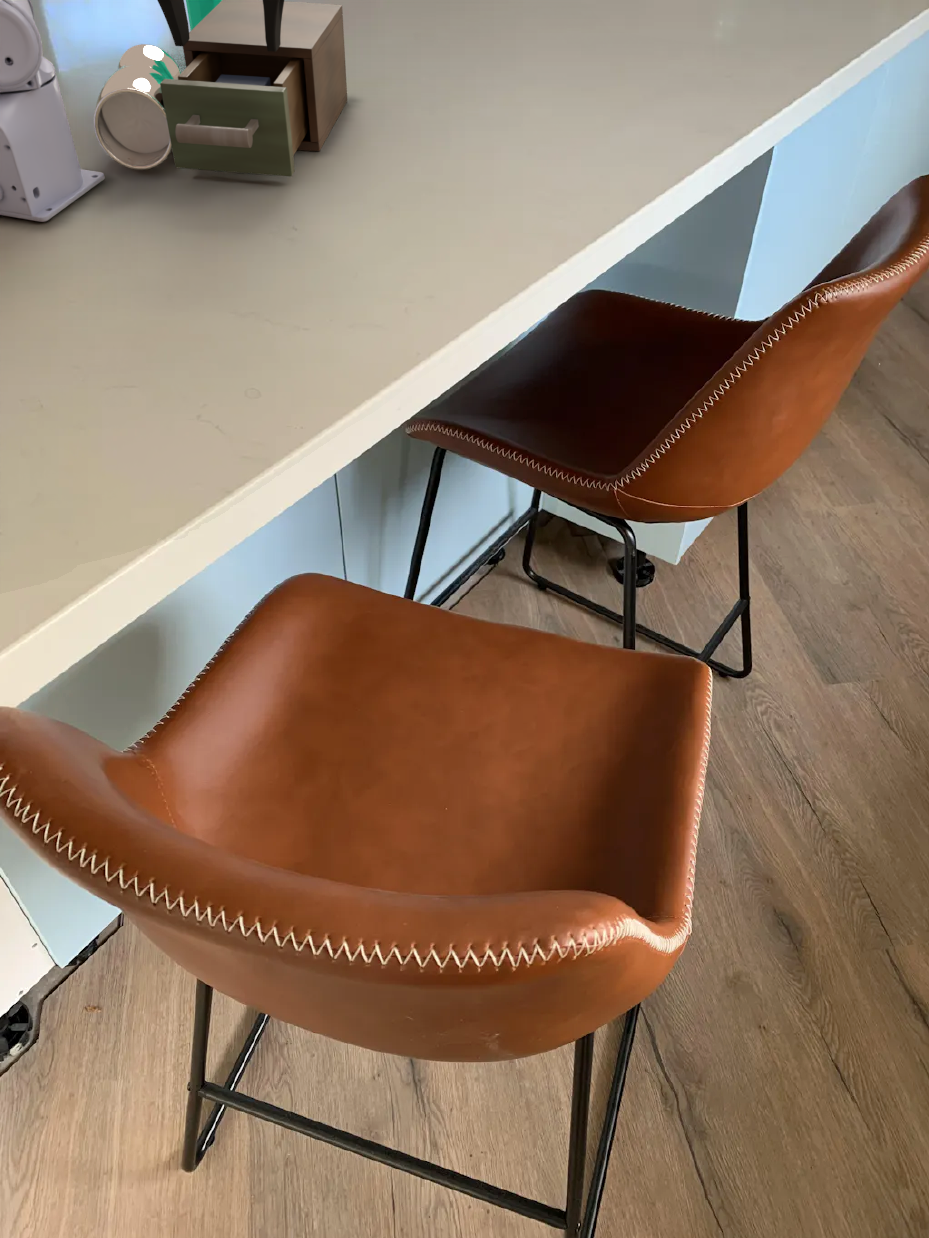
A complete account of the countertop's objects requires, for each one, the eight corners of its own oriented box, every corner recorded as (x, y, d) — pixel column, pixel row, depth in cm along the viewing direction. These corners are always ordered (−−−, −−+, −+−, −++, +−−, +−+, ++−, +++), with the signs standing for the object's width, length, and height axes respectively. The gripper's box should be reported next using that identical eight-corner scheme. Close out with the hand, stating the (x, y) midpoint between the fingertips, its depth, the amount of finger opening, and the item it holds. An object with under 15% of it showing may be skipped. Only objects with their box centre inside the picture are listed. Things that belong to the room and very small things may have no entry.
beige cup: (180, 37, 90) (166, 84, 80) (194, 117, 95) (183, 171, 85) (104, 39, 90) (81, 87, 79) (122, 119, 94) (102, 174, 84)
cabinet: (319, 151, 89) (311, 48, 83) (198, 142, 90) (181, 40, 84) (347, 101, 98) (342, 4, 92) (237, 93, 99) (224, -3, 93)
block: (265, 148, 84) (258, 94, 81) (216, 145, 84) (207, 91, 81) (275, 129, 87) (270, 77, 84) (228, 126, 87) (220, 74, 84)
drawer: (280, 196, 80) (271, 110, 75) (159, 187, 81) (142, 100, 76) (322, 124, 91) (316, 44, 86) (216, 116, 92) (204, 37, 87)
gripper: (83, -161, 67) (127, 55, 76) (289, -151, 66) (306, 65, 76) (114, -177, 71) (152, 29, 81) (307, -167, 71) (321, 38, 81)
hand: (228, 45), depth 79 cm, fingers open, 7 cm apart
